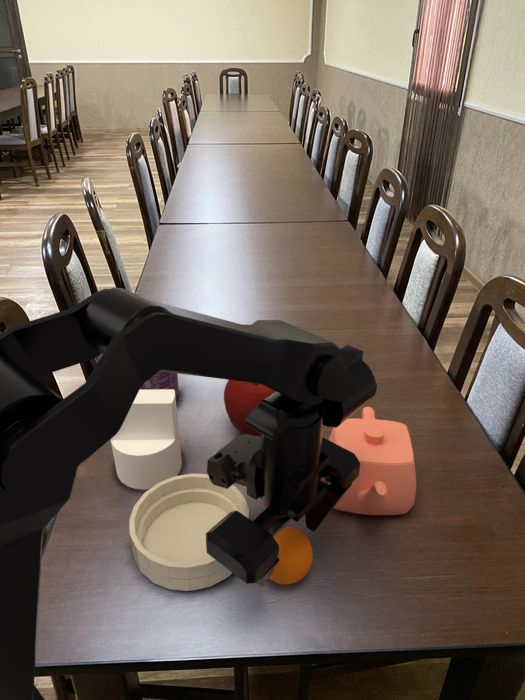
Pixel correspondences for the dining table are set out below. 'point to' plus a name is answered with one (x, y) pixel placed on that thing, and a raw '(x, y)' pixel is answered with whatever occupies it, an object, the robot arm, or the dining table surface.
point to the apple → (243, 402)
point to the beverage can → (162, 382)
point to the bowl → (181, 530)
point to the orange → (292, 556)
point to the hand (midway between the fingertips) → (286, 554)
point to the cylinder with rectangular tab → (148, 441)
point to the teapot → (378, 465)
